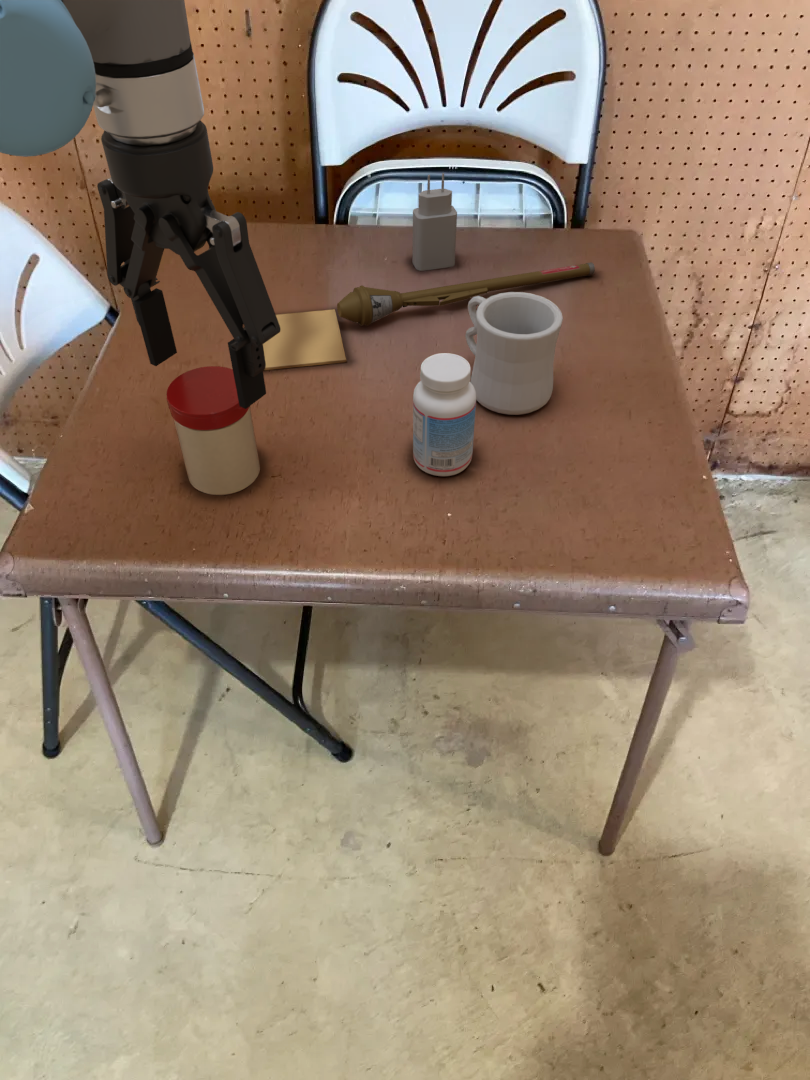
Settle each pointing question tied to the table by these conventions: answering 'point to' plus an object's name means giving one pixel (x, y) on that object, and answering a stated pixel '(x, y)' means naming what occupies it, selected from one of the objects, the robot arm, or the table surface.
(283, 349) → the coaster
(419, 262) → the power adapter
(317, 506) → the table surface
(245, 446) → the beige jar
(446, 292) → the toy grenade launcher
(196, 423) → the lid
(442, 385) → the pill bottle
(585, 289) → the table surface
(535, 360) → the mug
